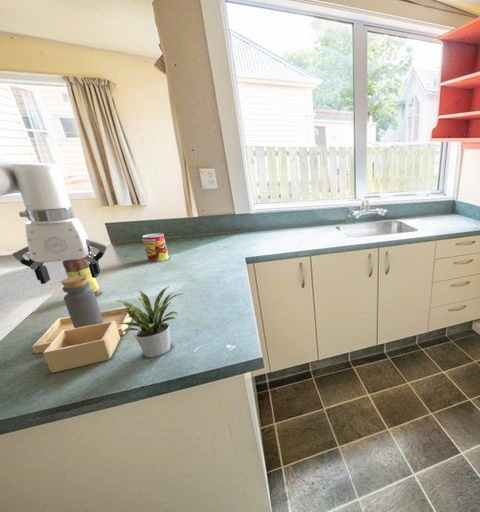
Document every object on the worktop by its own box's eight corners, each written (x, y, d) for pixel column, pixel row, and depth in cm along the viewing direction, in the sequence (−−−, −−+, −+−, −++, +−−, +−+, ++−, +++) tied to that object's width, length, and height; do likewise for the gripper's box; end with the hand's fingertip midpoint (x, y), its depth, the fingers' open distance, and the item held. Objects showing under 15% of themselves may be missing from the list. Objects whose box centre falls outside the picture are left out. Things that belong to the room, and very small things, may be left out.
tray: (35, 353, 73) (32, 346, 73) (60, 325, 86) (58, 318, 85) (123, 335, 81) (121, 328, 81) (135, 311, 94) (133, 305, 93)
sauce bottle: (101, 290, 108) (84, 238, 102) (100, 296, 103) (82, 242, 97) (76, 295, 104) (57, 241, 98) (74, 301, 99) (54, 245, 93)
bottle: (70, 331, 82) (52, 281, 77) (96, 321, 87) (80, 273, 82) (84, 335, 80) (66, 284, 75) (109, 324, 85) (94, 276, 80)
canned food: (144, 261, 139) (138, 236, 136) (160, 256, 146) (155, 232, 143) (156, 262, 137) (150, 237, 133) (172, 257, 144) (167, 234, 141)
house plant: (198, 328, 85) (186, 275, 80) (195, 355, 73) (181, 295, 68) (135, 341, 79) (119, 285, 73) (121, 373, 67) (100, 309, 62)
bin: (51, 373, 67) (42, 352, 65) (68, 348, 75) (62, 330, 74) (110, 359, 72) (103, 340, 70) (120, 338, 80) (115, 320, 78)
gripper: (-10, 220, 66) (16, 290, 71) (93, 215, 74) (110, 278, 79) (9, 214, 72) (31, 279, 77) (102, 211, 81) (117, 270, 86)
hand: (71, 279), depth 78 cm, fingers open, 9 cm apart
